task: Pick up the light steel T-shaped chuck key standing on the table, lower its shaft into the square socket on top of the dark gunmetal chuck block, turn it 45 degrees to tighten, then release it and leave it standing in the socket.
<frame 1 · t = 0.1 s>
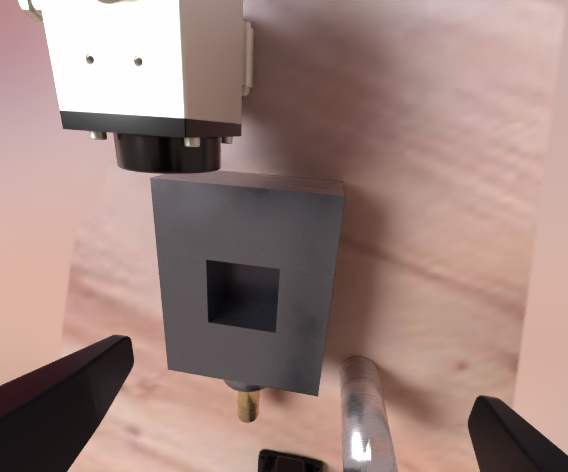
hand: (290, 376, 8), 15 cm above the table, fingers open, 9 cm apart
chuck key: (358, 371, 25), on the table
pneumatic valve: (223, 60, 19), on the table
chuck block: (260, 264, 23), on the table
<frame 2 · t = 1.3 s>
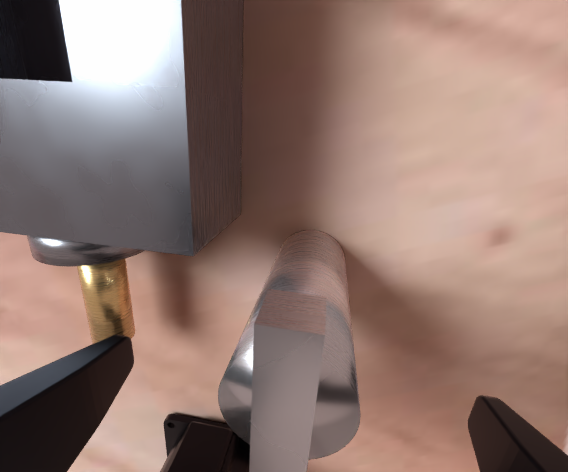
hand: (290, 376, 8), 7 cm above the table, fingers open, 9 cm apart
chuck key: (311, 261, 14), on the table
chuck block: (113, 36, 12), on the table
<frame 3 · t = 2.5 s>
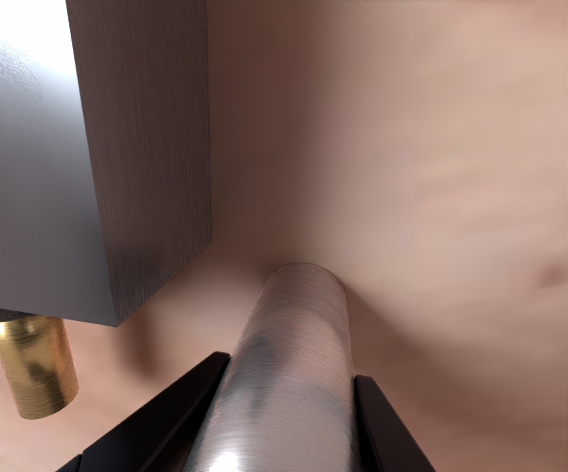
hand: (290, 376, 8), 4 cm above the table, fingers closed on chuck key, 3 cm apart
chuck key: (303, 302, 11), on the table, touching gripper
chuck block: (34, 7, 9), on the table
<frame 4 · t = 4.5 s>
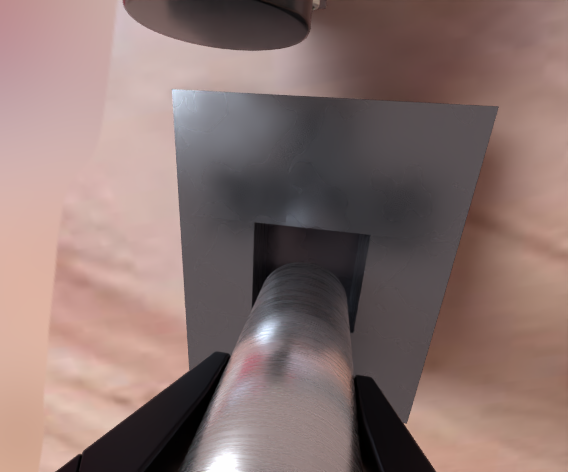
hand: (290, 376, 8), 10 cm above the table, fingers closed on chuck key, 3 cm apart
chuck key: (302, 301, 11), point 7 cm above the table, touching gripper
chuck block: (313, 239, 17), on the table
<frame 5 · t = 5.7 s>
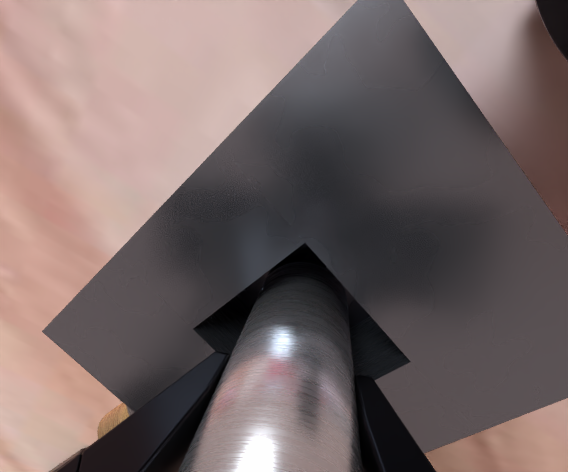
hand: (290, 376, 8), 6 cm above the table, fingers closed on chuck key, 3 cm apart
chuck key: (303, 301, 11), point 3 cm above the table, touching gripper
chuck block: (309, 270, 13), on the table
when the fingers open (6 cm above the table, at t = 6.5 s): chuck key stays where it is, resting on chuck block.
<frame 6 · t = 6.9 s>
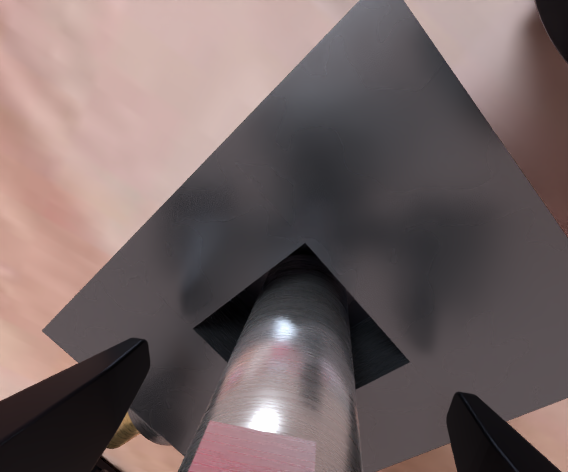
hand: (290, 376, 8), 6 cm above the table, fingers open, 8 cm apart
chuck key: (304, 292, 11), point 2 cm above the table, touching chuck block
chuck block: (308, 270, 13), on the table
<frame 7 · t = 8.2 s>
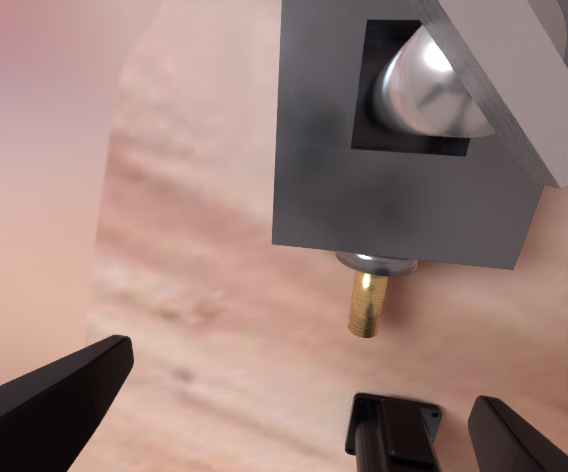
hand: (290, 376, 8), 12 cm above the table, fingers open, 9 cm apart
chuck key: (400, 98, 14), point 2 cm above the table, touching chuck block
chuck block: (392, 102, 16), on the table
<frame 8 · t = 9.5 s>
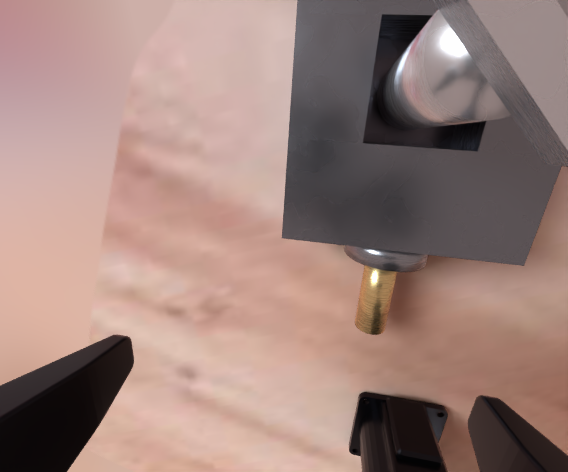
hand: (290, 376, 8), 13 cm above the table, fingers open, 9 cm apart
chuck key: (411, 94, 14), point 2 cm above the table, touching chuck block
chuck block: (402, 99, 16), on the table
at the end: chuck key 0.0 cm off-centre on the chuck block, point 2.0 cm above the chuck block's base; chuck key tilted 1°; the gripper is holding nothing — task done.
